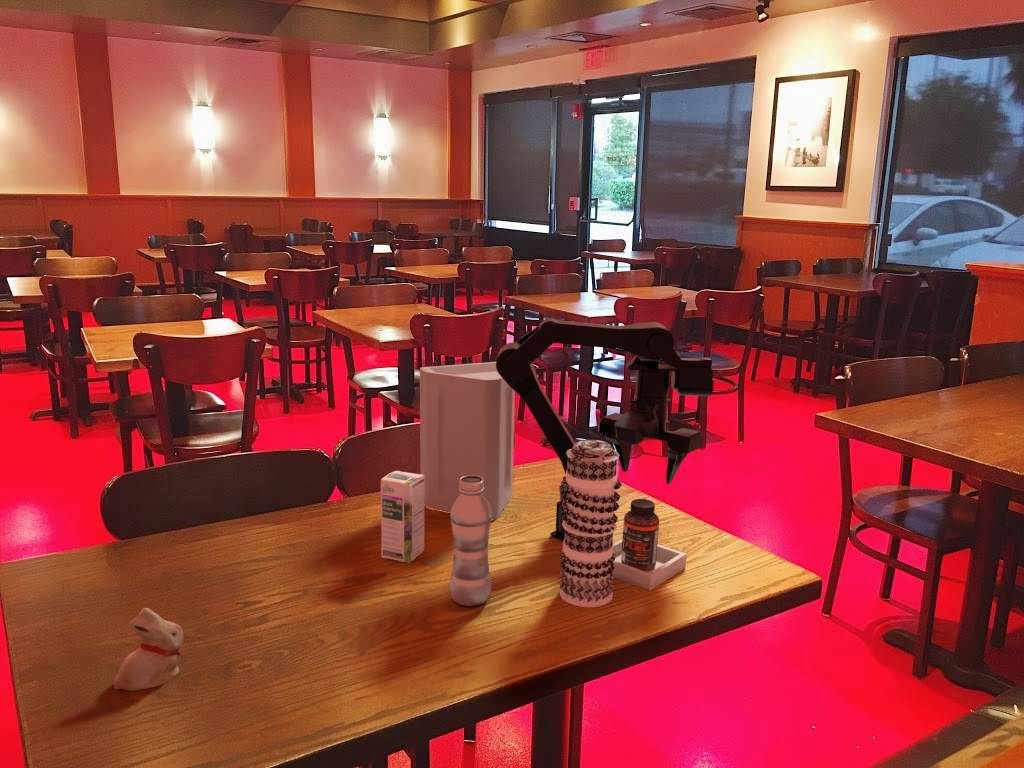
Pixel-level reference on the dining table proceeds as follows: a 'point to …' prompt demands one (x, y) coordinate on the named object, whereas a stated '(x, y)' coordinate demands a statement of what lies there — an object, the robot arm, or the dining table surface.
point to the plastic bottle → (470, 543)
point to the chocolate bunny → (151, 653)
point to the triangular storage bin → (466, 433)
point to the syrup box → (402, 516)
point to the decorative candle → (589, 523)
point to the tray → (663, 570)
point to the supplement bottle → (640, 535)
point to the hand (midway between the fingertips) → (646, 477)
